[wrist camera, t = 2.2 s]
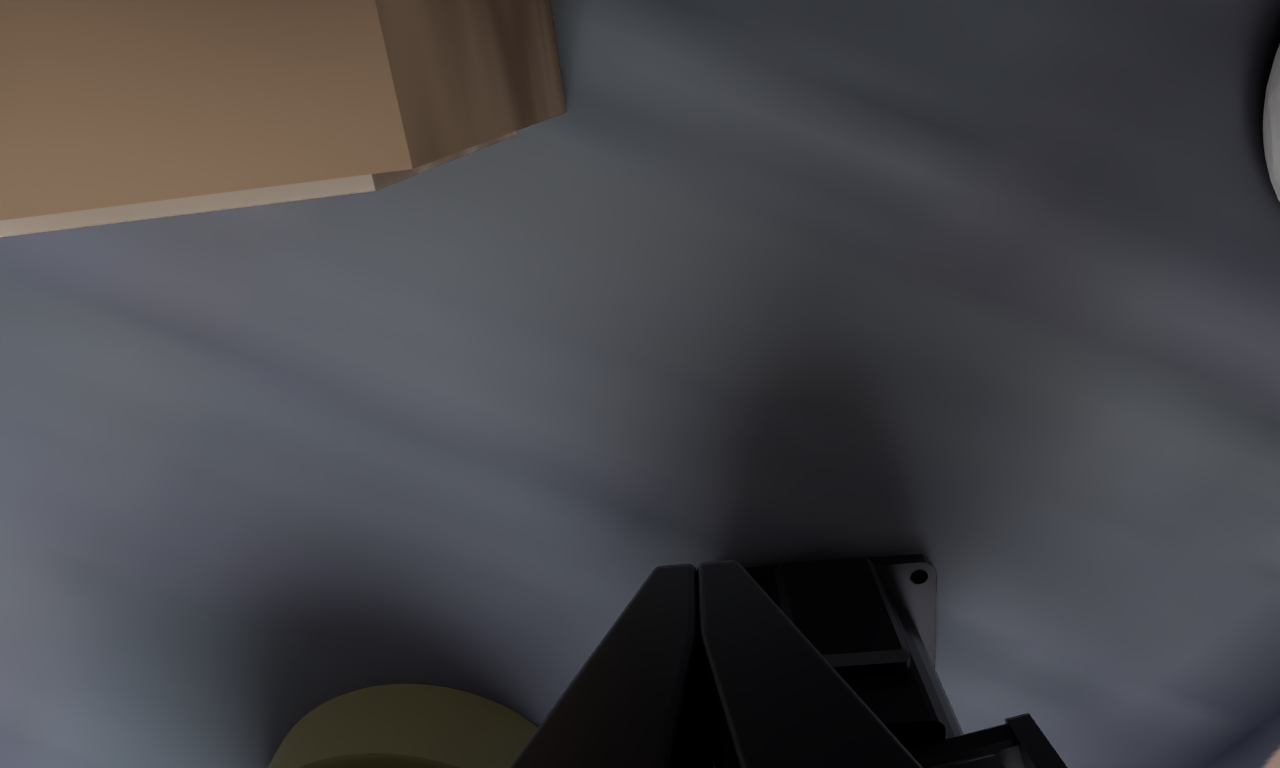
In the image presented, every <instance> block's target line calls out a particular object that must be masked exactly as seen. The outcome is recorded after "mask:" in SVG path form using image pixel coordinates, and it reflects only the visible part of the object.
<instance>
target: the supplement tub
mask: <svg viewBox="0 0 1280 768" xmlns="http://www.w3.org/2000/svg"><path fill="white" fill-rule="evenodd" d="M1263 143H1264V151H1265V159H1266V163H1267V167H1268V172H1269V176H1270V181H1271V183H1272V185H1273V188H1274V190H1275V193H1276V195H1277V198H1278V200H1279V202H1280V45H1279V47H1278V50H1277V52H1276V56H1275V59H1274V62H1273V66H1272V70H1271V73H1270V77H1269V81H1268V84H1267V88H1266V95H1265V104H1264V112H1263Z"/></svg>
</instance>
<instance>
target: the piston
mask: <svg viewBox="0 0 1280 768" xmlns="http://www.w3.org/2000/svg"><path fill="white" fill-rule="evenodd" d="M537 729H538V727H537V726H536V725H534V724H533V723H532V722H530V721H529V720H527V719H526V718H524V717H523V716H521V715H519V714H518V713H516V712H514V711H512V710H510V709H509V708H507V707H505V706H503V705H500V704H498V703H496V702H494V701H491V700H489V699H486V698H484V697H481V696H478V695H475V694H472V693H468V692H465V691H461V690H457V689H452V688H447V687H442V686H435V685H426V684H388V685H379V686H373V687H368V688H363V689H359V690H355V691H351V692H348V693H346V694H343V695H340V696H338V697H335V698H333V699H331V700H329V701H327V702H325V703H323V704H321V705H319V706H318V707H316V708H315V709H313V710H312V711H310V712H309V713H308V714H306V715H305V716H304V717H303V718H301V719H300V720H299V721H298V722H297V723H296V724H295V725H294V726H293V728H292V729H291V730H290V731H289V732H288V734H287V735H286V737H285V738H284V740H283V741H282V743H281V745H280V747H279V748H278V750H277V752H276V753H275V755H274V757H273V759H272V760H271V762H270V764H269V765H268V767H267V768H509V767H510V766H511V764H512V763H513V761H514V760H515V759H516V757H517V756H518V755H519V753H520V752H521V751H522V749H523V748H524V746H525V745H526V744H527V742H528V741H529V740H530V738H531V737H532V735H533V734H534V733H535V731H536V730H537Z"/></svg>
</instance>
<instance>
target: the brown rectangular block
mask: <svg viewBox="0 0 1280 768" xmlns="http://www.w3.org/2000/svg"><path fill="white" fill-rule="evenodd" d="M565 112H566V105H565V98H564V92H563V85H562V78H561V71H560V65H559V58H558V51H557V45H556V38H555V31H554V24H553V18H552V11H551V4H550V0H0V237H6V236H14V235H22V234H30V233H38V232H46V231H54V230H62V229H71V228H79V227H87V226H95V225H103V224H111V223H119V222H127V221H135V220H143V219H151V218H160V217H168V216H176V215H184V214H192V213H200V212H208V211H216V210H224V209H232V208H240V207H249V206H257V205H265V204H273V203H281V202H289V201H297V200H305V199H313V198H321V197H329V196H338V195H346V194H354V193H362V192H370V191H376V190H379V189H381V188H384V187H386V186H389V185H391V184H394V183H396V182H399V181H402V180H404V179H407V178H409V177H412V176H414V175H417V174H419V173H422V172H424V171H427V170H429V169H432V168H434V167H437V166H439V165H442V164H444V163H447V162H449V161H452V160H454V159H457V158H459V157H462V156H464V155H467V154H470V153H472V152H475V151H477V150H480V149H482V148H485V147H487V146H490V145H492V144H495V143H497V142H500V141H502V140H505V139H507V138H510V137H512V136H515V135H517V134H516V131H517V130H519V129H522V128H525V127H528V126H530V125H533V124H536V123H538V122H541V121H544V120H546V119H549V118H552V117H555V116H557V115H560V114H563V113H565Z"/></svg>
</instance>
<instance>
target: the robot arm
mask: <svg viewBox="0 0 1280 768" xmlns="http://www.w3.org/2000/svg"><path fill="white" fill-rule="evenodd" d="M919 569H920V570H923V572H922V573H921V574H920V575H917V576H911V574H912V573H913V572H914V571H915V570H919ZM936 592H937V574H936V570H935V568H934V566H933V564H932V562H931V561H930V560H929V559H928V558H927V557H925V556H923V555H917V554H913V555H901V556H888V557H876V558H864V557H858V558H846V559H834V560H821V561H809V562H796V563H784V564H781V565H776V566H763V567H751V568H743V567H742V566H741V565H740V564H739V563H738V562H737V561H735V560H727V561H715V562H704V563H701V564H700V565H699V566H698V568H697V570H696V568H695V566H694V565H692V564H678V565H666V566H658V567H656V568H655V569H654V570H653V571H652V573H651V574H650V575H649V577H648V578H647V579H646V581H645V582H644V584H643V585H642V586H641V588H640V589H639V590H638V592H637V593H636V595H635V596H634V597H633V599H632V600H631V601H630V603H629V604H628V605H627V607H626V608H625V610H624V611H623V612H622V614H621V615H620V616H619V618H618V619H617V621H616V622H615V623H614V625H613V626H612V627H611V629H610V630H609V631H608V633H607V634H606V636H605V637H604V638H603V640H602V641H601V642H600V644H599V645H598V647H597V648H596V649H595V651H594V652H593V653H592V655H591V656H590V657H589V659H588V660H587V662H586V663H585V664H584V666H583V667H582V668H581V670H580V671H579V673H578V674H577V675H576V677H575V678H574V679H573V681H572V682H571V683H570V685H569V686H568V688H567V689H566V690H565V692H564V693H563V694H562V696H561V697H560V699H559V700H558V701H557V703H556V704H555V705H554V707H553V708H552V709H551V711H550V712H549V714H548V715H547V716H546V718H545V719H544V720H543V722H542V723H541V725H540V726H539V727H538V729H537V730H536V731H535V733H534V734H533V735H532V737H531V738H530V740H529V741H528V742H527V744H526V745H525V746H524V748H523V749H522V751H521V752H520V753H519V755H518V756H517V757H516V759H515V760H514V761H513V763H512V764H511V766H510V767H509V768H1067V767H1066V765H1065V764H1064V762H1063V761H1062V759H1061V758H1060V757H1059V755H1058V754H1057V752H1056V751H1055V750H1054V748H1053V747H1052V745H1051V744H1050V743H1049V741H1048V740H1047V738H1046V737H1045V735H1044V734H1043V733H1042V731H1041V730H1040V728H1039V727H1038V726H1037V724H1036V723H1035V721H1034V720H1033V719H1032V717H1031V716H1030V714H1029V713H1027V714H1023V715H1019V716H1015V717H1011V718H1007V719H1005V723H1006V724H1003V725H999V726H995V727H991V728H987V729H983V730H980V731H976V732H972V733H968V734H963V732H962V730H961V727H960V725H959V723H958V720H957V718H956V716H955V714H954V711H953V709H952V707H951V705H950V702H949V700H948V698H947V696H946V693H945V691H944V689H943V687H942V684H941V682H940V680H939V677H938V675H937V673H936V671H935V640H936Z"/></svg>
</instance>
